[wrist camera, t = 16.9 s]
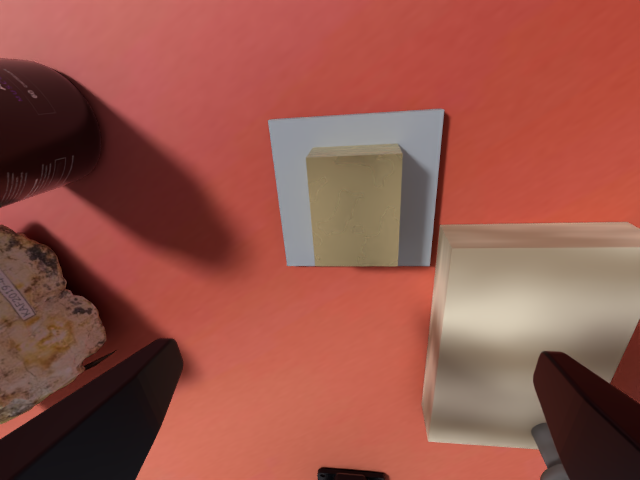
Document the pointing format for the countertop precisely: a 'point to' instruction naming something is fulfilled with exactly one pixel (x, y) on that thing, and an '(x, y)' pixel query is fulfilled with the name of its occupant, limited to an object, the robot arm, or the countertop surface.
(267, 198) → the countertop surface
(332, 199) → the tan wooden block
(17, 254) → the petrified wood
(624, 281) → the cream rectangular block
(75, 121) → the supplement bottle
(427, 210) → the rubber mat
